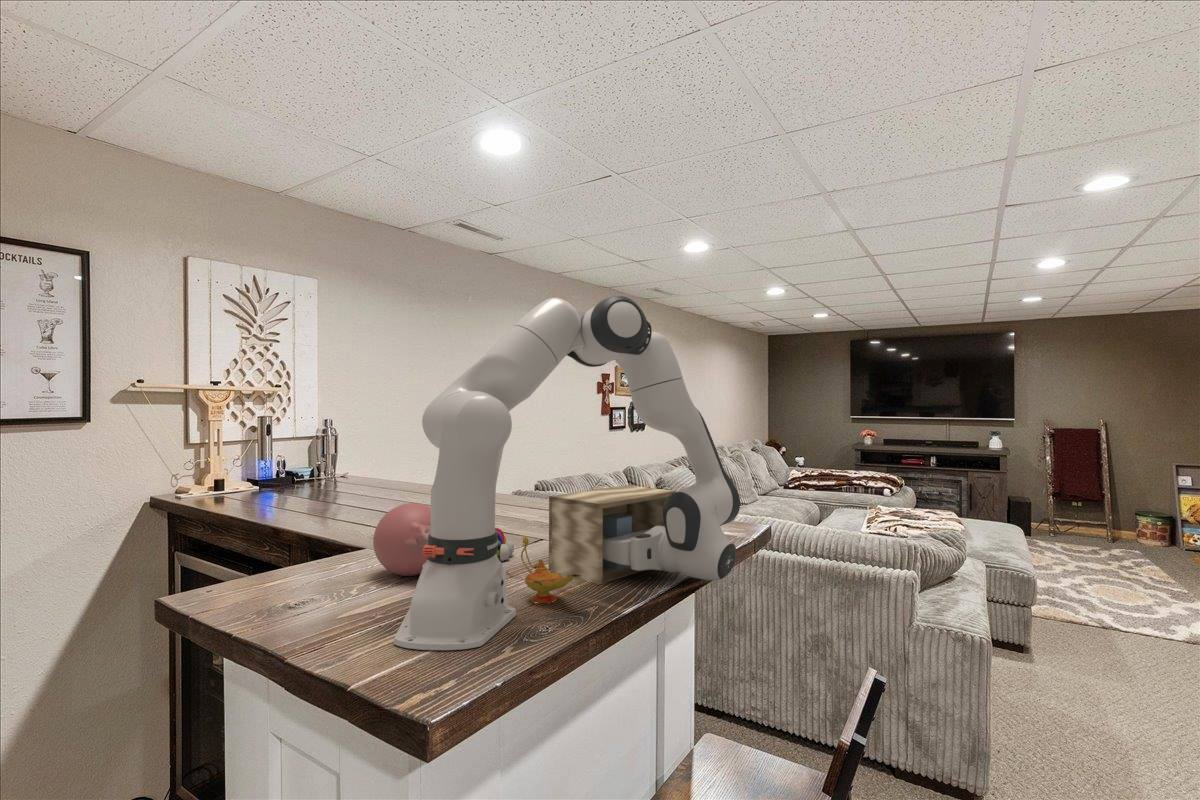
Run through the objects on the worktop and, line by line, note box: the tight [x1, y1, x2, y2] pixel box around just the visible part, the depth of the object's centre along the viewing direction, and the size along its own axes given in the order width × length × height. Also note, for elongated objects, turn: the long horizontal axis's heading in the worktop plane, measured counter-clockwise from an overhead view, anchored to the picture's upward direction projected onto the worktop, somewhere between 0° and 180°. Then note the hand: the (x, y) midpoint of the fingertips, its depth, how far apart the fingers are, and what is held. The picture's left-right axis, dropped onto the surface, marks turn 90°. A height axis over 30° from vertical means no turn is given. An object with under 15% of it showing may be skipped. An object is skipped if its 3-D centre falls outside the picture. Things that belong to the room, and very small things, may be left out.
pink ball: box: [372, 502, 431, 577], centre depth 126 cm, size 15×20×15 cm
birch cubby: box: [548, 484, 677, 585], centre depth 132 cm, size 15×26×17 cm, turn 137°
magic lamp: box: [520, 535, 581, 604], centre depth 110 cm, size 7×18×11 cm, turn 42°
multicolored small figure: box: [495, 527, 515, 562], centre depth 141 cm, size 8×10×7 cm
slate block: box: [603, 513, 632, 569], centre depth 132 cm, size 5×5×11 cm
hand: (613, 537), depth 132 cm, fingers closed on slate block, 5 cm apart
